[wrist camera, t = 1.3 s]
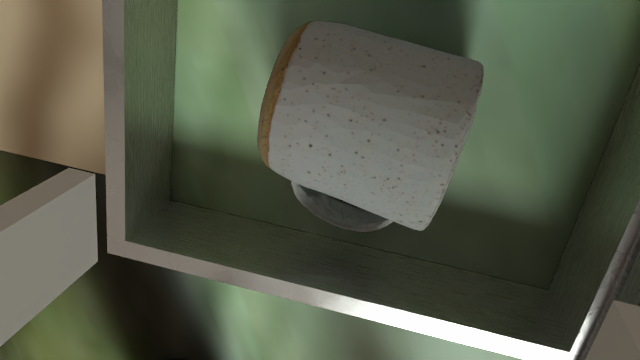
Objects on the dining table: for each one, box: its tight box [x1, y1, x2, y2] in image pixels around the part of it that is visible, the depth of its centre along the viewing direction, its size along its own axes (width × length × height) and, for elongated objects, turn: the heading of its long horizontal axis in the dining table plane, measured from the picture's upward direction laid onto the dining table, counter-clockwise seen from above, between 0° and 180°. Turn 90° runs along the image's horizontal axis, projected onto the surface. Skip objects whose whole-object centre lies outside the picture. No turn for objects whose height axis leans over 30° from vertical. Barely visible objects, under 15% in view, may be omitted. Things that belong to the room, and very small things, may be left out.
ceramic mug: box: [257, 21, 484, 232], centre depth 24 cm, size 11×8×8 cm
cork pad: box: [0, 0, 106, 175], centre depth 29 cm, size 12×13×1 cm
